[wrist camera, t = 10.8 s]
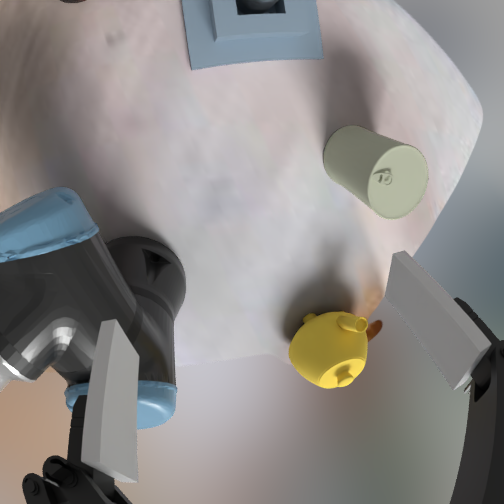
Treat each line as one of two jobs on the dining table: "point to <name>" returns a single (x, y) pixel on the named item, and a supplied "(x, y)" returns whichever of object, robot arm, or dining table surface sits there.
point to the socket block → (250, 32)
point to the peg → (254, 6)
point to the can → (377, 170)
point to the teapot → (330, 348)
